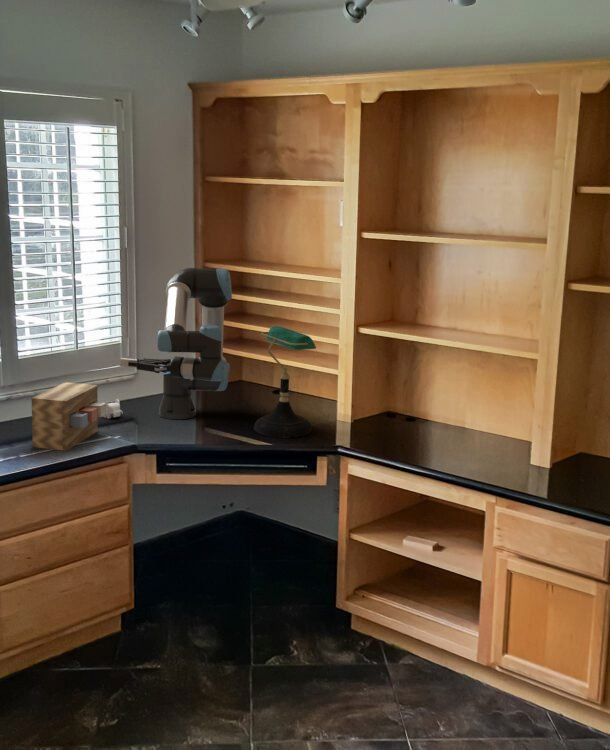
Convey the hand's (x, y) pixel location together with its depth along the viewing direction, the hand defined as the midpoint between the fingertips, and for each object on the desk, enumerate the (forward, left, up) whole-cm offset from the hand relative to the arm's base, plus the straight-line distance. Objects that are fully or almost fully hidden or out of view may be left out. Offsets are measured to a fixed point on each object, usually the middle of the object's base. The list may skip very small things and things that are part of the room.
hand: (121, 362), depth 314 cm
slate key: (+18, -3, -22) cm, 29 cm away
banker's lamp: (-64, +5, -31) cm, 71 cm away
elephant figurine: (-7, -35, -31) cm, 47 cm away
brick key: (+13, -9, -22) cm, 27 cm away
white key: (+8, -15, -22) cm, 28 cm away
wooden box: (+17, -12, -30) cm, 37 cm away
